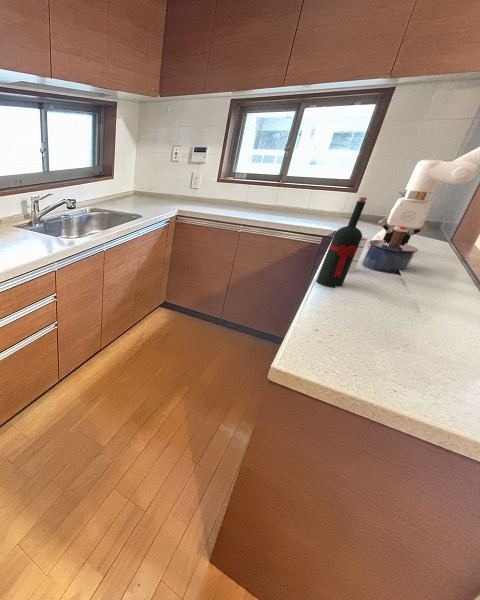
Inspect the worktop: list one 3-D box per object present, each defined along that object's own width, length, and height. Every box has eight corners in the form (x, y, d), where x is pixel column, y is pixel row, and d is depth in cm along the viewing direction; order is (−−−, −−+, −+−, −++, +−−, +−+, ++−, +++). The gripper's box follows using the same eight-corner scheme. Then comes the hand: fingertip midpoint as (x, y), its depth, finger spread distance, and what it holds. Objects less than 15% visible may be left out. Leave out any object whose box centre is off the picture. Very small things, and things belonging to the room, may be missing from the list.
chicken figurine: (389, 255, 148) (404, 222, 141) (360, 246, 160) (373, 216, 153) (412, 254, 150) (429, 222, 144) (382, 245, 162) (396, 215, 156)
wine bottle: (318, 287, 113) (352, 199, 100) (314, 277, 121) (345, 194, 108) (346, 292, 110) (385, 201, 97) (339, 281, 118) (374, 197, 105)
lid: (413, 247, 131) (421, 229, 128) (420, 256, 120) (430, 237, 117) (366, 240, 138) (374, 223, 135) (369, 248, 127) (377, 230, 124)
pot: (400, 265, 136) (410, 245, 133) (408, 278, 122) (419, 257, 119) (360, 258, 143) (368, 239, 140) (363, 270, 129) (372, 250, 126)
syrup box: (353, 273, 126) (369, 237, 119) (337, 272, 127) (351, 236, 120) (345, 268, 131) (360, 233, 125) (329, 267, 132) (343, 232, 125)
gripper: (388, 194, 122) (367, 241, 130) (450, 199, 113) (424, 250, 121) (385, 192, 127) (366, 237, 135) (445, 197, 119) (420, 245, 127)
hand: (394, 243), depth 128 cm, fingers closed on lid, 4 cm apart
